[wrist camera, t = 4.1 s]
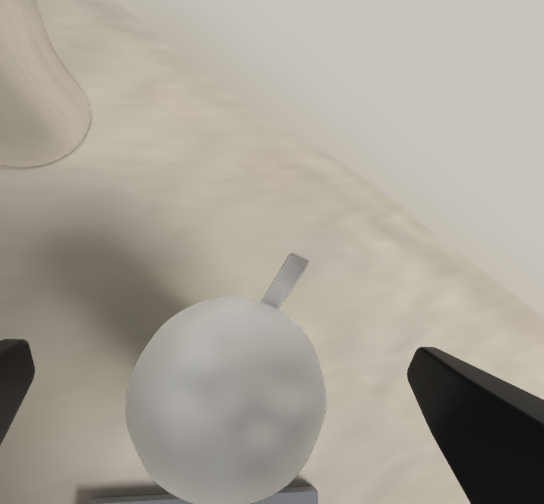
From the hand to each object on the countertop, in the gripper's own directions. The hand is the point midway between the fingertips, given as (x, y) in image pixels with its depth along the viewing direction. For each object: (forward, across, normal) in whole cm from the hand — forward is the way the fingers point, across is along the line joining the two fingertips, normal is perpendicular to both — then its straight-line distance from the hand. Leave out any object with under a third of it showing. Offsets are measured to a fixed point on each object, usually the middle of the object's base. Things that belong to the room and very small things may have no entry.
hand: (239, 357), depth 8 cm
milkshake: (+6, 0, -6) cm, 8 cm away
